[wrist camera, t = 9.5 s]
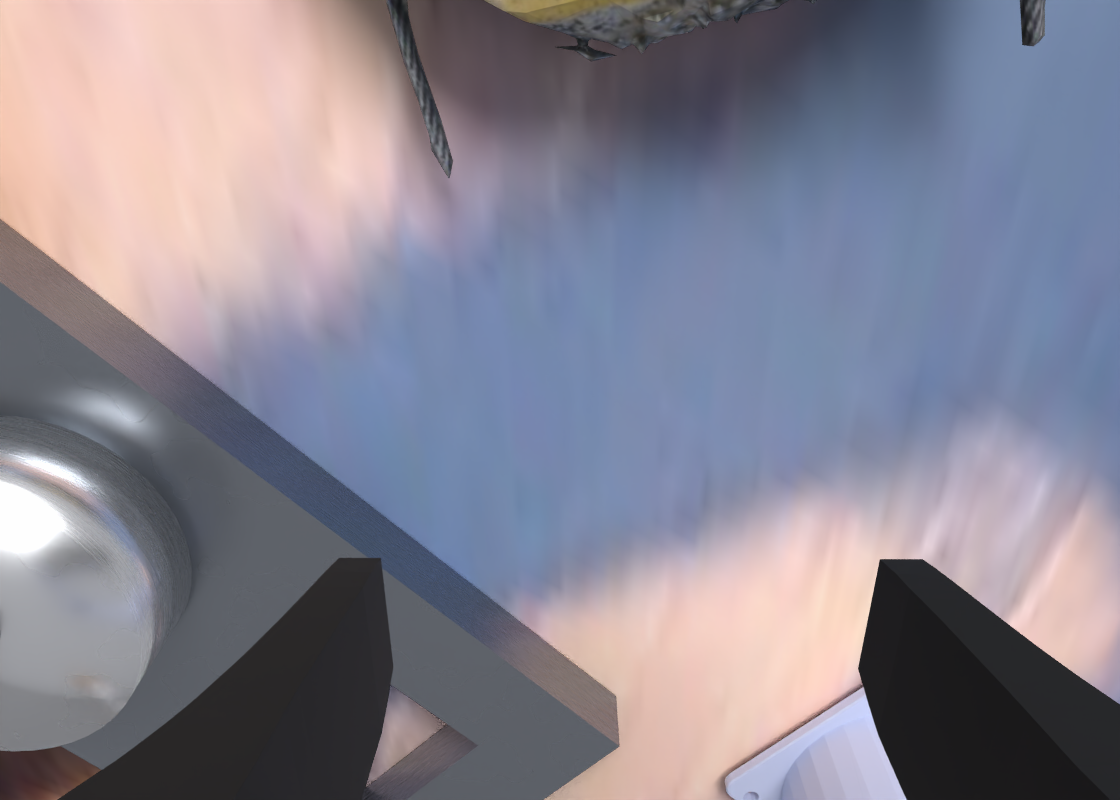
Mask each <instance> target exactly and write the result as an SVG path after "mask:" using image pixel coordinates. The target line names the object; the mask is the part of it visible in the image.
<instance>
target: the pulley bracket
mask: <svg viewBox="0 0 1120 800" xmlns="http://www.w3.org/2000/svg"><path fill="white" fill-rule="evenodd" d="M338 558H381V563H382V572H383V580H384V589H385V598H386V606H387V615H388V624H389V632H390V641H391V650H392V658H393V673H392V678H391V685H392V686H394V687H395V688H396V689H398V690H399V691H401V692H402V693H404V694H405V695H406V696H408V697H409V698H411V699H412V700H414V701H415V702H416V703H418V704H419V705H421V706H422V707H424V708H425V709H426V710H428V711H429V712H431V713H432V714H434V715H435V716H436V717H438V718H439V719H441V720H442V721H444V722H445V723H446V724H447V725H446V726H445V727H443V728H442V729H441V730H439V731H438V732H437V733H436V734H434V735H433V736H432V737H430V738H429V739H428V740H427V741H425V742H424V743H423V744H421V745H420V746H419V747H418V748H416V749H415V750H414V751H412V752H411V753H410V754H409V755H407V756H406V757H405V758H403V759H402V760H401V761H400V762H398V763H397V764H396V765H394V766H393V767H392V768H391V769H389V770H388V771H387V772H386V773H384V774H383V775H382V776H380V777H379V778H378V779H377V780H375V781H374V782H373V783H371V784H370V785H369V786H368V787H365V790H364V793H363V796H362V799H361V800H543V799H545V798H546V797H548V796H549V795H551V794H552V793H553V792H555V791H556V790H558V789H559V788H561V787H562V786H563V785H565V784H566V783H568V782H569V781H571V780H572V779H573V778H575V777H576V776H578V775H579V774H581V773H582V772H583V771H585V770H586V769H588V768H589V767H591V766H592V765H593V764H595V763H596V762H598V761H599V760H601V759H602V758H603V757H605V756H606V755H608V754H609V753H611V752H612V751H613V750H615V749H616V748H618V747H619V733H618V719H617V705H616V696H615V695H614V694H612V693H611V692H610V691H609V690H607V689H606V688H605V687H603V686H602V685H601V684H600V683H598V682H597V681H596V680H594V679H593V678H592V677H591V676H589V675H588V674H587V673H585V672H584V671H583V670H582V669H580V668H579V667H578V666H576V665H575V664H574V663H572V662H571V661H570V660H569V659H567V658H566V657H565V656H563V655H562V654H561V653H560V652H558V651H557V650H556V649H554V648H553V647H552V646H551V645H549V644H548V643H547V642H545V641H544V640H543V639H541V638H540V637H539V636H538V635H536V634H535V633H534V632H532V631H531V630H530V629H529V628H527V627H526V626H525V625H523V624H522V623H521V622H520V621H518V620H517V619H516V618H514V617H513V616H512V615H511V614H509V613H508V612H507V611H505V610H504V609H503V608H501V607H500V606H499V605H498V604H496V603H495V602H494V601H492V600H491V599H490V598H489V597H487V596H486V595H485V594H483V593H482V592H481V591H480V590H478V589H477V588H476V587H474V586H473V585H472V584H471V583H469V582H468V581H467V580H465V579H464V578H463V577H461V576H460V575H459V574H458V573H456V572H455V571H454V570H452V569H451V568H450V567H449V566H447V565H446V564H445V563H443V562H442V561H441V560H440V559H438V558H437V557H436V556H434V555H433V554H432V553H430V552H429V551H428V550H427V549H425V548H424V547H423V546H421V545H420V544H419V543H418V542H416V541H415V540H414V539H412V538H411V537H410V536H409V535H407V534H406V533H405V532H403V531H402V530H401V529H400V528H398V527H397V526H396V525H394V524H393V523H392V522H390V521H389V520H388V519H387V518H385V517H384V516H383V515H381V514H380V513H379V512H378V511H376V510H375V509H374V508H372V507H371V506H370V505H369V504H367V503H366V502H365V501H363V500H362V499H361V498H360V497H358V496H357V495H356V494H354V493H353V492H352V491H350V490H349V489H348V488H347V487H345V486H344V485H343V484H341V483H340V482H339V481H338V480H336V479H335V478H334V477H332V476H331V475H330V474H329V473H327V472H326V471H325V470H323V469H322V468H321V467H319V466H318V465H317V464H316V463H314V462H313V461H312V460H310V459H309V458H308V457H307V456H305V455H304V454H303V453H301V452H300V451H299V450H298V449H296V448H295V447H294V446H292V445H291V444H290V443H289V442H287V441H286V440H285V439H283V438H282V437H281V436H279V435H278V434H277V433H276V432H274V431H273V430H272V429H270V428H269V427H268V426H267V425H265V424H264V423H263V422H261V421H260V420H259V419H258V418H256V417H255V416H254V415H252V414H251V413H250V412H249V411H247V410H246V409H245V408H243V407H242V406H241V405H239V404H238V403H237V402H236V401H234V400H233V399H232V398H230V397H229V396H228V395H227V394H225V393H224V392H223V391H221V390H220V389H219V388H218V387H216V386H215V385H214V384H212V383H211V382H210V381H208V380H207V379H206V378H205V377H203V376H202V375H201V374H199V373H198V372H197V371H196V370H194V369H193V368H192V367H190V366H189V365H188V364H187V363H185V362H184V361H183V360H181V359H180V358H179V357H178V356H176V355H175V354H174V353H172V352H171V351H170V350H168V349H167V348H166V347H165V346H163V345H162V344H161V343H159V342H158V341H157V340H156V339H154V338H153V337H152V336H150V335H149V334H148V333H147V332H145V331H144V330H143V329H141V328H140V327H139V326H138V325H136V324H135V323H134V322H132V321H131V320H130V319H128V318H127V317H126V316H125V315H123V314H122V313H121V312H119V311H118V310H117V309H116V308H114V307H113V306H112V305H110V304H109V303H108V302H107V301H105V300H104V299H103V298H101V297H100V296H99V295H97V294H96V293H95V292H94V291H92V290H91V289H90V288H88V287H87V286H86V285H85V284H83V283H82V282H81V281H79V280H78V279H77V278H76V277H74V276H73V275H72V274H70V273H69V272H68V271H67V270H65V269H64V268H63V267H61V266H60V265H59V264H57V263H56V262H55V261H54V260H52V259H51V258H50V257H48V256H47V255H46V254H45V253H43V252H42V251H41V250H39V249H38V248H37V247H36V246H34V245H33V244H32V243H30V242H29V241H28V240H27V239H25V238H24V237H23V236H21V235H20V234H19V233H17V232H16V231H15V230H14V229H12V228H11V227H10V226H8V225H7V224H6V223H5V222H3V221H2V220H1V219H0V751H30V750H40V749H47V748H53V747H57V746H62V747H63V748H65V749H67V750H68V751H70V752H72V753H74V754H75V755H77V756H79V757H81V758H82V759H84V760H86V761H87V762H89V763H91V764H93V765H94V766H96V767H98V768H99V769H101V770H102V769H104V768H105V767H107V766H108V765H110V764H111V763H113V762H114V761H116V760H117V759H119V758H120V757H121V756H123V755H124V754H126V753H127V752H128V751H130V750H131V749H132V748H134V747H135V746H136V745H138V744H139V743H140V742H142V741H143V740H144V739H145V738H147V737H148V736H149V735H151V734H152V733H153V732H155V731H156V730H157V729H159V728H160V727H161V726H163V725H164V724H165V723H166V722H168V721H169V720H170V719H171V718H173V717H174V716H175V715H176V714H178V713H179V712H180V711H181V710H182V709H184V708H185V707H186V706H187V705H188V704H190V703H191V702H192V701H193V700H194V699H195V698H197V697H198V696H199V695H200V694H201V693H202V692H203V691H204V690H205V689H207V688H208V687H209V686H210V685H211V684H212V683H213V682H214V681H215V680H217V679H218V678H219V677H220V676H221V675H222V674H223V673H224V672H225V671H227V670H228V669H229V668H230V667H231V666H232V665H233V664H234V663H235V662H236V661H238V660H239V659H240V658H241V657H242V656H243V655H244V654H245V653H246V652H247V651H248V650H249V649H250V648H251V647H252V646H253V645H254V644H255V643H256V642H257V641H258V640H259V639H260V638H261V637H262V636H263V635H264V634H265V633H266V632H267V631H268V630H269V629H270V628H271V627H272V626H273V625H274V624H275V623H276V622H277V621H278V620H279V619H280V618H281V617H282V616H283V615H284V614H285V613H286V612H287V611H288V610H289V609H290V608H291V607H292V606H293V605H294V604H295V603H296V602H297V601H298V600H299V598H300V597H301V596H302V595H303V594H304V593H305V592H306V591H307V590H308V589H309V588H310V587H311V586H312V585H313V584H314V583H315V582H316V581H317V579H318V578H319V577H320V576H321V575H322V574H323V573H324V572H325V571H326V570H327V569H328V568H329V567H330V566H331V565H332V564H333V563H334V562H335V561H336V560H337V559H338Z"/></svg>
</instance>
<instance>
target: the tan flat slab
mask: <svg viewBox="0 0 1120 800" xmlns="http://www.w3.org/2000/svg"><path fill="white" fill-rule="evenodd" d="M484 1H486V2H488V3H489V4H491V5H493V6H495V7H497V8H499V9H501V10H503V11H505V12H507V13H509V14H511V15H513V16H515V17H517V18H519V19H521V20H523V21H525V22H528V23H532V24H535V25H538V26H542V27H545V28H549V29H552V30H556V31H559V32H562V33H565V34H568V35H570V36H572V37H575V38H576V39H577V42H578V45H577V46H565V47H557V48H563V49H568V50H574V51H576V52H578V53H579V54H581V55H582V56H584V57H585V58H587V59H588V60H590V61H595V60H599V59H603V58H608V57H612V56H617V55H613V54H609V53H605V52H601V51H597V50H594V49H592V48H590V47H589V46H588V41H589V40H590V39H594V40H599V41H603V42H608V43H610V44H612V45H614V46H616V47H618V48H620V49H623V48H625V47H627V46H629V45H632V44H633V45H634V46H635V47H636V48H637V49H638V50H639V51H640V52H641V53H643V52H644V51H645V50H646V48H647V46H648V45H649V44H650V43H659V42H660V41H662V40H663V39H665V38H666V37H668V36H672V35H678V34H684V33H686V32H688V33H689V32H691V31H693V29H694V28H695V27H696V26H698V27H702V28H703V29H704V28H706V27H707V26H708V24H709V22H710V21H727V20H729V19H731V18H732V17H734V19H735V22H736V23H737V22H738V21H739V19H740V17H741V15H745V14H750V13H755V12H760V11H766V10H771V9H776V8H778V7H779V6H780V5H781V4H783V3H785V2H787V1H788V0H484ZM806 1H810V2H811V3H813V4H814V3H815V1H816V0H806ZM1045 1H1046V0H1020V9H1021V27H1022V45H1027V46H1035V45H1036V44H1037V43H1038V42H1039V41H1040V40H1041V39H1042V38H1043V37H1044V36H1045ZM386 3H387V6H388V9H389V13H390V16H391V19H392V23H393V26H394V30H395V33H396V36H397V40H398V43H399V47H400V50H401V53H402V57H403V60H404V64H405V66H406V69H407V72H408V75H409V77H410V80H411V83H412V85H413V88H414V91H415V94H416V96H417V99H418V102H419V105H420V108H421V111H422V114H423V117H424V120H425V124H426V127H427V130H428V133H429V137H430V143H431V149H432V152H433V153H434V155H435V157H436V158H437V160H438V162H439V163H440V165H441V166H442V168H443V170H444V171H445V173H446V175H447V176H448V178H450V174H451V169H452V163H453V160H452V156H451V153H450V149H449V146H448V142H447V139H446V135H445V132H444V128H443V125H442V121H441V118H440V115H439V113H438V110H437V107H436V104H435V101H434V98H433V95H432V92H431V89H430V87H429V84H428V81H427V78H426V75H425V72H424V69H423V66H422V63H421V61H420V58H419V55H418V51H417V47H416V43H415V39H414V35H413V32H412V28H411V24H410V20H409V16H408V2H407V0H386Z"/></svg>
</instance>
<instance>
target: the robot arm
mask: <svg viewBox="0 0 1120 800" xmlns="http://www.w3.org/2000/svg"><path fill="white" fill-rule="evenodd" d="M858 670H859V673H860V677H861V680H862V684H863V687H862V688H861V689H859V690H858V691H856V692H855V693H853V694H851V695H850V696H848V697H847V698H845V699H844V700H842V701H841V702H839V703H838V704H836V705H835V706H833V707H831V708H830V709H828V710H827V711H825V712H824V713H822V714H821V715H819V716H818V717H816V718H814V719H813V720H811V721H810V722H808V723H807V724H805V725H804V726H802V727H801V728H799V729H798V730H796V731H794V732H793V733H791V734H790V735H788V736H787V737H785V738H784V739H782V740H781V741H779V742H777V743H776V744H774V745H773V746H771V747H770V748H768V749H767V750H765V751H764V752H762V753H760V754H759V755H757V756H756V757H754V758H753V759H751V760H750V761H748V762H747V763H745V764H744V765H742V766H740V767H739V768H737V769H736V770H734V771H733V772H731V773H730V774H729V775H728V776H727V777H726V778H725V786H726V791H727V793H728V795H729V796H730V797H732V798H733V799H734V800H1120V704H1118V703H1117V702H1115V701H1114V700H1112V699H1111V698H1109V697H1108V696H1107V695H1105V694H1104V693H1102V692H1101V691H1099V690H1098V689H1096V688H1095V687H1093V686H1092V685H1090V684H1089V683H1087V682H1086V681H1085V680H1083V679H1082V678H1080V677H1079V676H1077V675H1076V674H1075V673H1073V672H1072V671H1070V670H1069V669H1068V668H1066V667H1065V666H1063V665H1062V664H1061V663H1059V662H1058V661H1056V660H1055V659H1054V658H1052V657H1051V656H1050V655H1048V654H1047V653H1046V652H1044V651H1043V650H1041V649H1040V648H1039V647H1037V646H1036V645H1035V644H1033V643H1032V642H1031V641H1029V640H1028V639H1027V638H1025V637H1024V636H1023V635H1021V634H1020V633H1019V632H1018V631H1016V630H1015V629H1014V628H1012V627H1011V626H1010V625H1008V624H1007V623H1006V622H1004V621H1003V620H1002V619H1001V618H999V617H998V616H997V615H995V614H994V613H993V612H992V611H990V610H989V609H988V608H986V607H985V606H984V605H983V604H981V603H980V602H979V601H977V600H976V599H975V598H974V597H972V596H971V595H970V594H968V593H967V592H966V591H965V590H963V589H962V588H961V587H959V586H958V585H957V584H955V583H954V582H953V581H952V580H950V579H949V578H948V577H946V576H945V575H944V574H942V573H941V572H940V571H938V570H937V569H936V568H934V567H933V566H931V565H930V564H928V563H927V562H926V561H924V560H923V559H880V562H879V567H878V572H877V577H876V582H875V587H874V592H873V597H872V602H871V607H870V612H869V617H868V622H867V627H866V632H865V637H864V642H863V647H862V652H861V657H860V662H859V667H858ZM392 673H393V658H392V650H391V641H390V632H389V624H388V615H387V606H386V598H385V589H384V580H383V572H382V563H381V558H338V559H337V560H336V561H335V562H334V563H333V564H332V565H331V566H330V567H329V568H328V569H327V570H326V571H325V572H324V573H323V574H322V575H321V576H320V577H319V578H318V579H317V581H316V582H315V583H314V584H313V585H312V586H311V587H310V588H309V589H308V590H307V591H306V592H305V593H304V594H303V595H302V596H301V597H300V598H299V600H298V601H297V602H296V603H295V604H294V605H293V606H292V607H291V608H290V609H289V610H288V611H287V612H286V613H285V614H284V615H283V616H282V617H281V618H280V619H279V620H278V621H277V622H276V623H275V624H274V625H273V626H272V627H271V628H270V629H269V630H268V631H267V632H266V633H265V634H264V635H263V636H262V637H261V638H260V639H259V640H258V641H257V642H256V643H255V644H254V645H253V646H252V647H251V648H250V649H249V650H248V651H247V652H246V653H245V654H244V655H243V656H242V657H241V658H240V659H239V660H238V661H236V662H235V663H234V664H233V665H232V666H231V667H230V668H229V669H228V670H227V671H225V672H224V673H223V674H222V675H221V676H220V677H219V678H218V679H217V680H215V681H214V682H213V683H212V684H211V685H210V686H209V687H208V688H207V689H205V690H204V691H203V692H202V693H201V694H200V695H199V696H198V697H197V698H195V699H194V700H193V701H192V702H191V703H190V704H188V705H187V706H186V707H185V708H184V709H182V710H181V711H180V712H179V713H178V714H176V715H175V716H174V717H173V718H171V719H170V720H169V721H168V722H166V723H165V724H164V725H163V726H161V727H160V728H159V729H157V730H156V731H155V732H153V733H152V734H151V735H149V736H148V737H147V738H145V739H144V740H143V741H142V742H140V743H139V744H138V745H136V746H135V747H134V748H132V749H131V750H130V751H128V752H127V753H126V754H124V755H123V756H121V757H120V758H119V759H117V760H116V761H114V762H113V763H111V764H110V765H108V766H107V767H105V768H104V769H102V770H101V771H99V772H98V773H96V774H95V775H94V776H92V777H91V778H89V779H88V780H86V781H85V782H83V783H82V784H80V785H79V786H77V787H76V788H74V789H73V790H71V791H70V792H68V793H67V794H65V795H64V796H62V797H61V798H59V799H58V800H361V799H362V796H363V793H364V790H365V786H366V783H367V780H368V776H369V773H370V770H371V767H372V763H373V760H374V757H375V753H376V750H377V747H378V743H379V740H380V737H381V733H382V728H383V723H384V718H385V712H386V707H387V702H388V696H389V690H390V684H391V678H392Z"/></svg>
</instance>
